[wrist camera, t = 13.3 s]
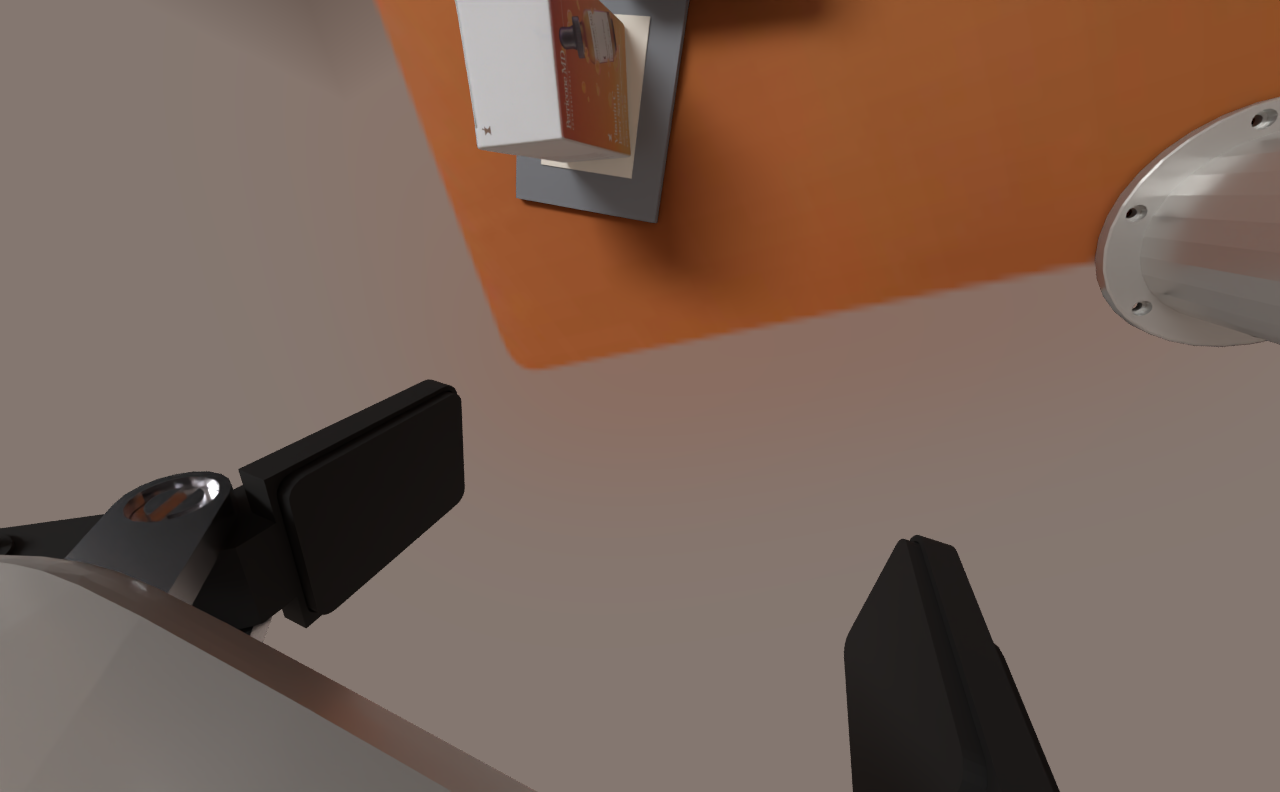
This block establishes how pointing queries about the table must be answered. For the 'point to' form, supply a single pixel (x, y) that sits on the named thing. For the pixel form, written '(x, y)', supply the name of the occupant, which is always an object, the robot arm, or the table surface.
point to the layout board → (632, 184)
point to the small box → (547, 78)
